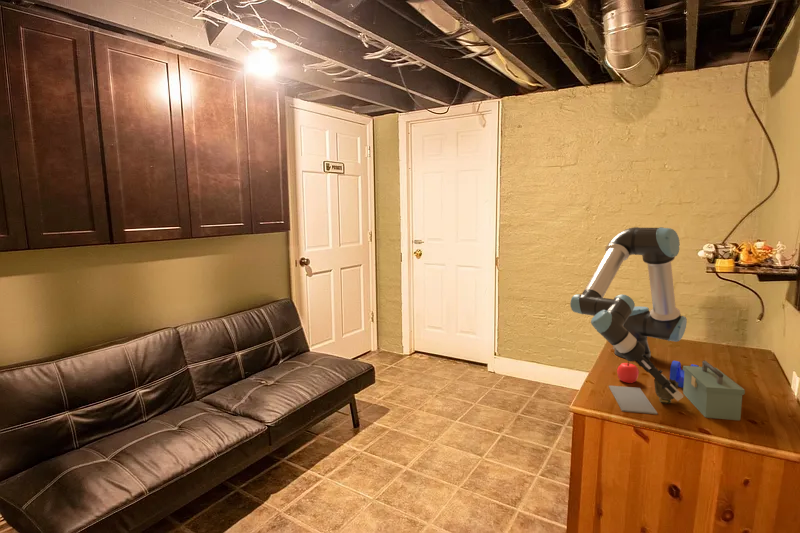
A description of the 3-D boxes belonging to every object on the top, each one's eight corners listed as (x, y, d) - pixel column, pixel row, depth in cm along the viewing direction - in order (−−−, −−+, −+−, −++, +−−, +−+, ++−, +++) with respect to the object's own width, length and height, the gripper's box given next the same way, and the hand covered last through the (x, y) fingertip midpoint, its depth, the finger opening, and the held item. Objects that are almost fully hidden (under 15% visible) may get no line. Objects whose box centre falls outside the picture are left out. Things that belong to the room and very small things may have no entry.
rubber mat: (608, 386, 173) (608, 385, 172) (639, 389, 170) (639, 387, 170) (621, 411, 151) (622, 409, 151) (657, 414, 149) (657, 413, 149)
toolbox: (680, 392, 166) (683, 356, 164) (714, 395, 163) (717, 358, 161) (703, 417, 146) (706, 376, 144) (742, 421, 143) (745, 378, 141)
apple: (629, 386, 173) (630, 366, 172) (612, 379, 180) (612, 360, 179) (643, 382, 176) (644, 363, 175) (625, 376, 183) (626, 357, 182)
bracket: (694, 390, 168) (695, 368, 167) (669, 385, 174) (670, 363, 173) (704, 377, 181) (705, 356, 179) (680, 372, 186) (682, 352, 185)
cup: (679, 401, 158) (680, 380, 157) (674, 408, 153) (676, 386, 152) (655, 396, 163) (656, 375, 162) (650, 402, 158) (652, 381, 157)
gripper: (614, 345, 169) (658, 389, 167) (627, 362, 150) (677, 412, 148) (630, 332, 167) (675, 376, 165) (645, 348, 148) (696, 398, 146)
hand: (676, 393), depth 157 cm, fingers closed on cup, 7 cm apart
